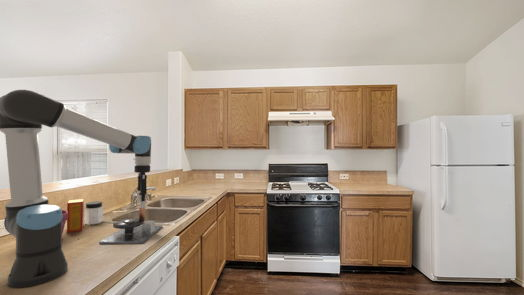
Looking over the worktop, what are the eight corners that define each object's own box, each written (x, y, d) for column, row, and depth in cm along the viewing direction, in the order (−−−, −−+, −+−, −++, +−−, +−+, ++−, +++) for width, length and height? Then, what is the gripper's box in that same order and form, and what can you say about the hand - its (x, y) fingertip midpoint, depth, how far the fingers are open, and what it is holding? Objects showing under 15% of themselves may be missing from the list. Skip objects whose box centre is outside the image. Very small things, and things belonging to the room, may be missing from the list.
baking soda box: (69, 227, 134) (69, 199, 134) (83, 225, 137) (84, 198, 138) (66, 232, 126) (67, 202, 126) (82, 230, 130) (82, 201, 130)
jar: (84, 225, 138) (84, 204, 138) (85, 222, 145) (85, 202, 145) (102, 223, 143) (103, 203, 143) (102, 219, 150) (103, 200, 150)
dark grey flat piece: (142, 243, 111) (143, 229, 111) (99, 244, 111) (99, 230, 111) (162, 227, 135) (162, 215, 135) (126, 227, 135) (126, 215, 135)
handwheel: (147, 224, 135) (147, 197, 135) (142, 235, 119) (143, 204, 119) (118, 227, 130) (118, 199, 131) (109, 238, 114) (109, 206, 114)
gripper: (132, 164, 135) (131, 201, 134) (136, 165, 114) (135, 210, 113) (147, 164, 139) (146, 200, 138) (153, 165, 118) (152, 209, 117)
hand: (141, 205), depth 126 cm, fingers open, 13 cm apart
